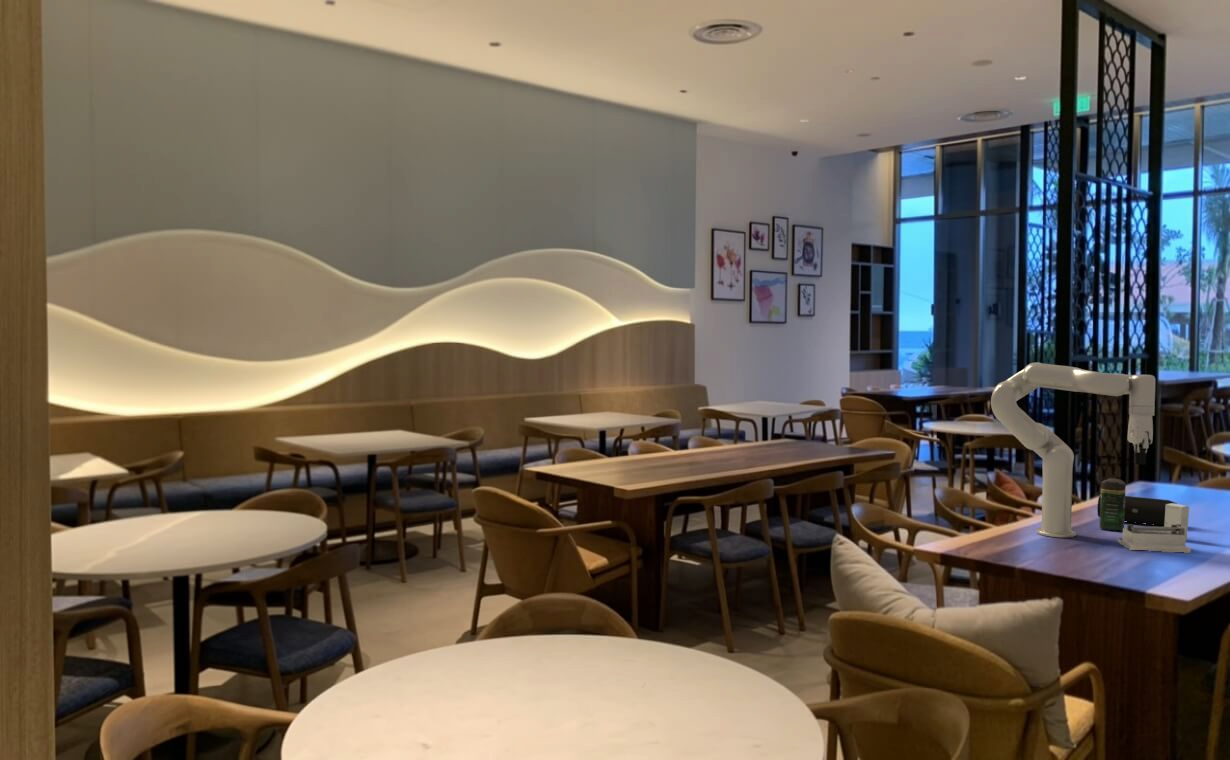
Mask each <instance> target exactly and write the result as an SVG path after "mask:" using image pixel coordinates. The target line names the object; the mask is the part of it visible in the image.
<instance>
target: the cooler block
mask: <svg viewBox="0 0 1230 760" xmlns="http://www.w3.org/2000/svg"><path fill="white" fill-rule="evenodd" d="M1129 526H1134V525H1133V524H1129V523H1127V524H1126V527H1124V528H1123V530H1122V538H1117V543H1118V542H1119V543H1121V544H1122V545H1124V546H1126V547H1127V548H1129V549H1130V550H1153V551H1162V552H1161V553H1174V552H1184V553H1183V554H1191V552H1192V549H1191V547H1188V546H1187V545H1186V543H1187V540H1186V535H1184V528H1179V529H1178V531H1139V528H1137V527H1132V530H1131V529H1130V528H1129ZM1171 527H1177V525H1173V524H1171ZM1119 543H1118V544H1119ZM1121 544H1120V545H1121ZM1122 545H1121V546H1122ZM1124 546H1123V547H1124ZM1126 547H1125V548H1126ZM1127 548H1126V549H1127ZM1129 549H1128V550H1129ZM1130 550H1129V551H1130Z"/></svg>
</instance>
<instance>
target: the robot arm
mask: <svg viewBox="0 0 1230 760" xmlns="http://www.w3.org/2000/svg"><path fill="white" fill-rule="evenodd" d="M1038 388H1045V389H1053V390H1061V391H1070V392H1074V393H1075V392H1077V393H1079V392H1081V393H1089V394H1095V395H1102V396H1111V397H1119V396H1120V397H1121V396H1123V395H1129V401H1128V403H1129V404H1128V405H1129V406H1128V407H1129V408H1128V415H1129V419H1128V428H1127V437H1126V438H1127V439H1126V440H1127V441H1128V442H1129V443H1132V446H1133V451H1134V456H1133V458H1134V459H1133V464H1134V465H1144V466H1146V464H1147V452H1148V449H1149V446H1150V445H1151V444H1153V438H1154V437H1153V436H1154V428H1153V427H1154V424H1153V423H1154V422H1153V417H1154V416H1155V408H1156V407H1155V404H1156V403H1155V401H1156V377H1155V376H1154V375H1152V374H1125V373H1117V372H1116V373H1108V372H1099V371H1093V370H1086V369H1082V368H1081V367H1080V368H1079V367H1074V366H1068V365H1058V364H1050V363H1042V362H1038V361H1037V362H1031V363H1029V364H1027V365H1026V366H1024V368H1023V369H1022V370H1020V371H1018V372H1016V373H1015V374H1014V375H1012V376H1011V377H1009V378H1007V379H1006V380H1004V381H1001V382H999V383H997V385H996V386H995V387H994V388H993V391H992V395H991V398H990V407H991V410H992V413H993V414H994V415H993V416H995V418H996V419H997V420H998V422H999V423H1001V425H1003V427H1004V428H1006V430H1008V432H1010V433H1011V434H1012V436H1014V437H1015V438H1016V439H1017V440H1018V441H1019V442H1020V443H1021V445H1023V446H1024V447H1025V449H1028V450H1030V451H1033V452H1034V453H1035V454H1037V455H1038V456H1039V457H1040V458H1041V460H1042V465H1041V466H1042V488H1041V489H1042V495H1041V497H1042V498H1041V527H1039V528H1037V529H1036V533H1037V534H1039V535H1041V536H1045V537H1051V538H1065V539H1066V538H1074V536H1075V537H1076V535H1077V532H1076V531H1074V530H1072V507H1073V469H1074V468H1073V467H1074V459H1075V454H1074V452H1073V450H1072V449H1071V447H1069V446H1068V444H1067V443H1065V442H1064V441H1063V440H1062V439H1061V438H1060V437H1059V436H1058V435H1056V434H1055V432H1053V431H1052V430H1051V429H1050V428H1049V427H1047V426H1046V425H1045V424H1043V423H1040V422H1036V421H1035V420H1034V419H1032V418H1031V417H1030V416H1029V415H1028V414H1027V413H1026V411H1024V410H1023V409H1022V408H1021V407H1019V405H1018V403H1017V401H1019V400H1020V399H1022V398H1024V397H1025V396H1026V395H1029V394H1030V393H1032V392H1033V391H1035V390H1036V389H1038Z"/></svg>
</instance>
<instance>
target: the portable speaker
mask: <svg viewBox="0 0 1230 760" xmlns="http://www.w3.org/2000/svg"><path fill="white" fill-rule="evenodd" d="M1100 503H1101V495H1100V496H1098V499H1097V507H1096V508H1097V511H1096V512H1097V516H1098V518H1100ZM1171 503H1174V504H1178V503H1177V502H1174V501H1171V500H1169V499H1162V498H1161V499H1160V498H1152V497H1151V498H1150V497H1141V496H1140V497H1139V496H1130V495H1129V496H1128V495H1125V516H1124V521H1127V522H1136V523H1146V524H1154V525H1162V526H1161V527H1164V523H1165V507H1166V504H1171ZM1127 522H1126V523H1127ZM1136 523H1135V524H1136ZM1154 525H1153V526H1154Z"/></svg>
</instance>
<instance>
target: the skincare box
mask: <svg viewBox="0 0 1230 760" xmlns="http://www.w3.org/2000/svg"><path fill="white" fill-rule="evenodd" d="M1189 515H1190V505H1184V504H1180V503H1177V504H1174V503H1171V504H1166V507H1165V523H1164V526H1163V527H1171V524H1173V525H1177V527H1179V528H1184V535H1186V541H1187V540H1188V532H1189V531H1188V527H1189Z"/></svg>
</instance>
